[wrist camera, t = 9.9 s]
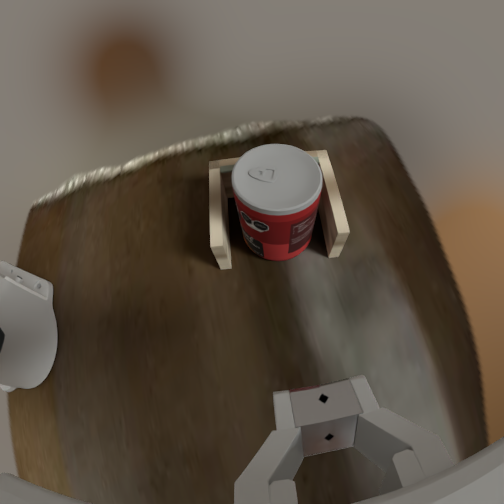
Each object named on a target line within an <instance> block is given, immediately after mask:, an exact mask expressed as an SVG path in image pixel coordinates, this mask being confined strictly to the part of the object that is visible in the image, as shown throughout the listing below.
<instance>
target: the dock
mask: <svg viewBox="0 0 504 504" xmlns="http://www.w3.org/2000/svg"><path fill="white" fill-rule="evenodd" d="M305 152H307V153H308V154H309V155H310V156H312V157H313V158H314V159H315V161H316V162H317V163H318V165H319V167H320V169H321V172H322V189H321V195H320V200H319V205H318V210H319V215H320V219H321V224H322V229H323V233H324V238H325V243H326V248H327V253H328V258H331V257H339V254H340V252H341V250H342V248H343V246H344V244H345V242H346V239H347V237H348V235H349V233H350V231H349V227H348V223H347V219H346V215H345V212H344V208H343V204H342V201H341V197H340V194H339V190H338V187H337V183H336V180H335V176H334V173H333V170H332V167H331V163H330V160H329V157H328V154H327V151H326V150H320V151H305ZM238 159H239V158H233V159H225V160H217V161H210V162H209V209H210V247H211V249H212V252H213V254H214V256H215V258H216V260H217V262H218V264H219V266H220V269H231V252H230V235H229V218H228V199H227V198H233V197H234V194H233V188H232V171H233V168H234V165H235V163H236V162H237V161H238Z"/></svg>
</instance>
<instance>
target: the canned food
mask: <svg viewBox="0 0 504 504" xmlns="http://www.w3.org/2000/svg"><path fill="white" fill-rule="evenodd" d="M232 188H233V194H234V198H235V202H236V207H237V211H238V215H239V220H240V224H241V228H242V233H243V237H244V240H245V242H246V244H247V245H248V247H249V248H250V249H251V250H252V251H253V252H254V253H256V254H257V255H259V256H260V257H262V258H265V259H268V260H272V261H284V260H288V259H291V258H293V257H295V256H297V255H298V254H300V253H301V252H302V251H304V249H305V248H306V247H307V246H308V244H309V242H310V240H311V236H312V231H313V227H314V223H315V218H316V214H317V209H318V205H319V200H320V195H321V189H322V172H321V169H320V167H319V165H318V163H317V162H316V161H315V159H314V158H313V157H312V156H310V155H309V154H308V153H307V152H305V151H303V150H301V149H299V148H296V147H294V146H290V145H285V144H267V145H263V146H259V147H256V148H253V149H251V150H249V151H248V152H246V153H245V154H244V155H242V156H241V157H240V158H239V159H238V161H237V162H236V163H235V165H234V168H233V171H232Z"/></svg>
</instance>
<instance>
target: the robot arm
mask: <svg viewBox="0 0 504 504" xmlns="http://www.w3.org/2000/svg"><path fill="white" fill-rule="evenodd" d="M40 287H41V288H40ZM52 301H53V285H52V283H51V282H49V281H47V280H45V279H42V278H40V277H38V276H35V275H33V274H31V273H29V272H26V271H24V270H22V269H20V268H18V267H16V266H13V265H11V264H9V263H7V262H5V261H0V388H1V389H2V390H3V391H6V392H11V391H13V390H14V389H16V388H25V389H30V388H34V387H36V386H38V385H39V384H40V383H42V382H43V381H44V379H45V378H46V377H47V375H48V374H49V372H50V370H51V368H52V365H53V362H54V359H55V355H56V350H57V324H56V319H55V315H54V311H53V306H52ZM273 401H274V410H275V419H276V428H277V431H272V432H271V434H270V435H269V437H268V438H267V439H266V441H265V442H264V444H263V445H262V447H261V448H260V449H259V451H258V452H257V454H256V455H255V457H254V458H253V459H252V461H251V462H250V463H249V465H248V466H247V467H246V469H245V470H244V471H243V473H242V474H241V475H240V477H239V478H238V479H237V481H236V482H235V491H234V504H298V501H297V494H296V488H295V482H294V481H292V479H293V478H294V476H295V474H296V472H297V470H298V468H299V466H300V464H301V462H302V460H303V457H305V456H310V455H315V454H319V453H324V452H328V451H333V450H338V449H343V448H347V447H352V446H354V448H355V449H357V450H358V451H359V452H360V453H362V454H363V455H364V456H365V457H367V458H368V459H369V460H371V461H372V462H373V463H374V464H376V465H377V466H378V467H379V468H381V469H382V470H383V471H385V472H386V475H385V477H384V479H383V482H382V484H381V486H380V488H379V493H380V496H376V497H373V498H370V499H366V500H363V501H359V502H355V503H352V504H504V437H502V438H501V439H499V440H498V441H496V442H494V443H493V444H491V445H490V446H488V447H486V448H485V449H483V450H481V451H480V452H478V453H476V454H474V455H473V456H471V457H469V458H467V459H465V460H463V461H461V462H459V463H458V464H456V465H454V463H453V461H452V460H451V458H450V456H449V454H448V452H447V450H446V448H445V446H444V444H443V443H442V441H441V439H440V437H439V436H438V435H436V434H434V433H432V432H430V431H428V430H426V429H424V428H422V427H420V426H418V425H416V424H414V423H412V422H411V421H409V420H407V419H405V418H403V417H401V416H399V415H397V414H395V413H394V412H392V411H390V410H388V409H386V408H384V407H383V408H379V406H378V403H377V401H376V399H375V397H374V395H373V393H372V391H371V389H370V386H369V384H368V382H367V380H366V378H365V376H364V375H359V376H355V377H351V378H348V379H342V380H338V381H334V382H329V383H325V384H320V385H316V386H310V387H304V388H298V389H291V390H286V391H278V392H273ZM0 504H92V503H89V502H85V501H81V500H78V499H75V498H71V497H68V496H65V495H62V494H59V493H56V492H53V491H51V490H48V489H45V488H42V487H40V486H37V485H35V484H32V483H30V482H28V481H25V480H23V479H21V478H19V477H17V476H14V475H12V474H9V473H1V474H0Z"/></svg>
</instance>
